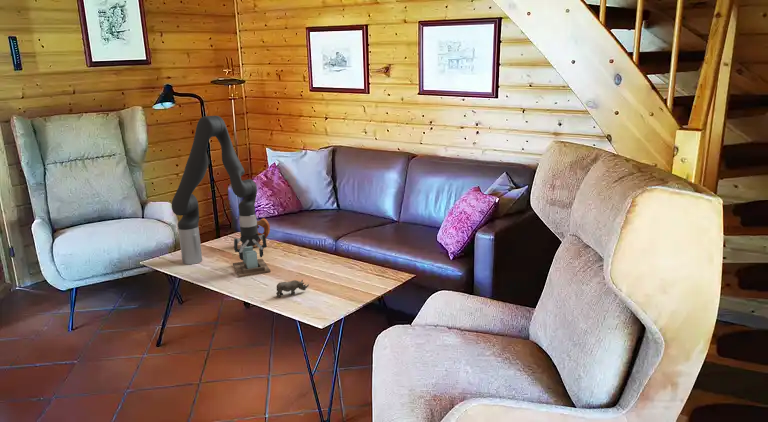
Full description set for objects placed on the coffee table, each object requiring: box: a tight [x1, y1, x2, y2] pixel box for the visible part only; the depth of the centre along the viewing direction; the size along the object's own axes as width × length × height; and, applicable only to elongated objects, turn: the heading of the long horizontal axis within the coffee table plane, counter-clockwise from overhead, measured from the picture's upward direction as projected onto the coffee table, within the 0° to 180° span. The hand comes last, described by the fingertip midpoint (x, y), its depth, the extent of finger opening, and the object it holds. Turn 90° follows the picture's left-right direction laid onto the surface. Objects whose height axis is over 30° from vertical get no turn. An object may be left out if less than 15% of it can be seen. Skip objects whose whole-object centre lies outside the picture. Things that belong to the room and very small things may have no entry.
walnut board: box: [232, 246, 271, 278], centre depth 264 cm, size 18×14×9 cm
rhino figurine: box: [275, 279, 310, 298], centre depth 233 cm, size 4×14×6 cm, turn 109°
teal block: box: [245, 249, 258, 269], centre depth 261 cm, size 4×4×8 cm
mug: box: [253, 217, 271, 248], centre depth 295 cm, size 15×8×15 cm, turn 80°
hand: (251, 258), depth 260 cm, fingers open, 8 cm apart
